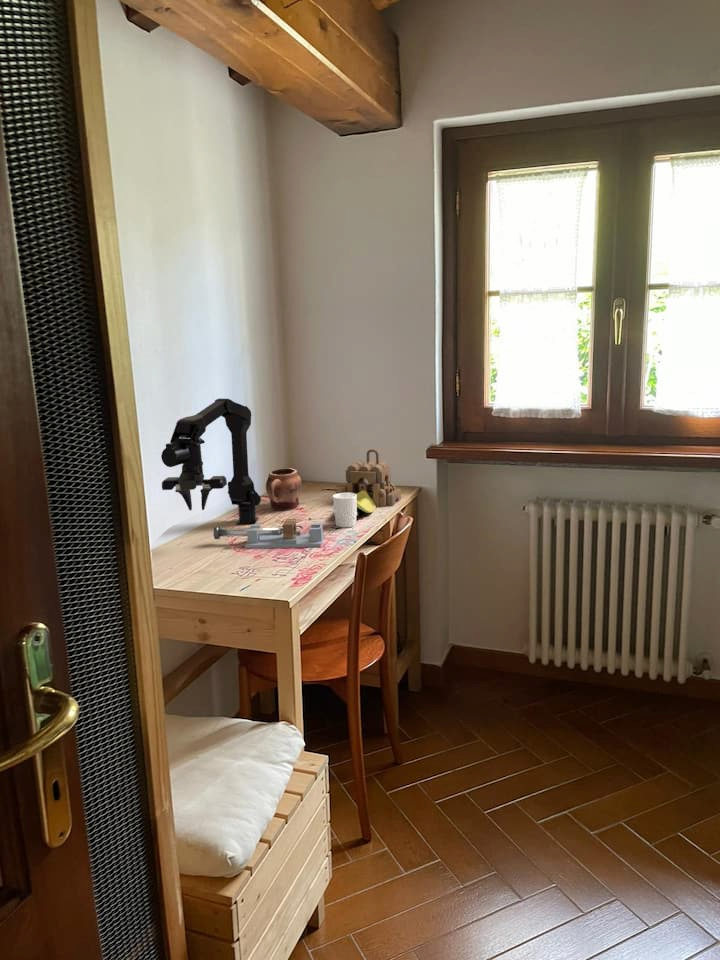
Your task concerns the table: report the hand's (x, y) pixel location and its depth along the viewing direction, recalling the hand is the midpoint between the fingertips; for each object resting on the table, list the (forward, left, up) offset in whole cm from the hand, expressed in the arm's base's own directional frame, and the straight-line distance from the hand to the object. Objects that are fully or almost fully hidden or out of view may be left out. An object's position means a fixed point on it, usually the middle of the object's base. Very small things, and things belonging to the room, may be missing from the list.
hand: (197, 510), depth 225 cm
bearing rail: (0, +27, -11) cm, 29 cm away
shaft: (0, +16, -9) cm, 18 cm away
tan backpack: (-48, +50, -11) cm, 70 cm away
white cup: (-18, +44, -11) cm, 49 cm away
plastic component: (-31, +46, -11) cm, 57 cm away
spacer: (0, +28, -10) cm, 30 cm away
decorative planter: (-40, +20, -11) cm, 46 cm away
